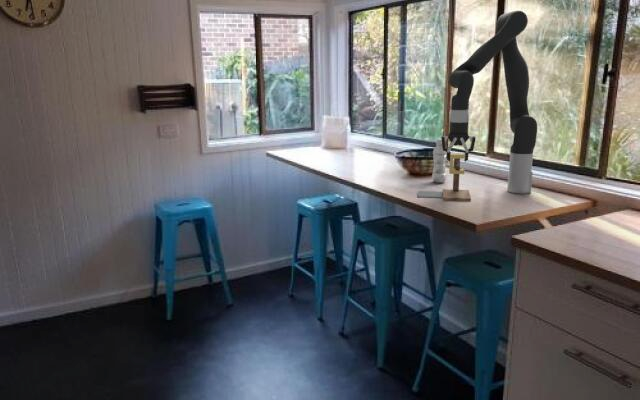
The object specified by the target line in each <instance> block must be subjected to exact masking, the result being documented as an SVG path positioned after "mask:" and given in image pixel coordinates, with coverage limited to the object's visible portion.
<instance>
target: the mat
mask: <svg viewBox="0 0 640 400" xmlns="http://www.w3.org/2000/svg"><path fill="white" fill-rule="evenodd" d="M417 198H424V199H425V198H427V199H429V198H430V199H443V191H436V190H435V191H433V190H431V191H430V190H429V191H427V190H418V191H417Z"/></svg>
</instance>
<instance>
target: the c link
mask: <svg viewBox="0 0 640 400" xmlns="http://www.w3.org/2000/svg"><path fill="white" fill-rule="evenodd" d="M454 159H460V160H462V159H463V160H464V159H465V152H464V153H461V152H460V153H459V152H457V153H455V152H454V153H453V152H450V161H449V165H448V166H449V167H448V168H449V170H448V171H449V175H453V174H459V175H465V171H466V170H465V168H460V170H459V171H457V170H456V169H454Z"/></svg>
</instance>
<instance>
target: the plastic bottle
mask: <svg viewBox="0 0 640 400" xmlns="http://www.w3.org/2000/svg"><path fill="white" fill-rule="evenodd" d="M435 145H436V146H435V147H434V149H433V150H432V156H433V170H432V173H431V174H432V175H431V180H432V182H433V183H437V184H441V183H445V182H446V179H447V174H446V160H447V152H446V151H443V148H442V139H441V140H436V141H435Z"/></svg>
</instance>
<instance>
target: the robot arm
mask: <svg viewBox="0 0 640 400" xmlns="http://www.w3.org/2000/svg"><path fill="white" fill-rule="evenodd" d="M528 23H529V20H528V15H527V14H526V13H525V12H524V11H522V10H513V11H509V12H505V13H503V14H501V15H500V16H499V17H498V19H497V21H496V32H497V33H495V35H493V36H492V37H491V38H489V39H488V40H486V41H485V42H484V43H483V44H482V45H480V46H479V47H478V48H477V49H476V50H475V51H474V52H473V53H472V54H471V56H470V57H468V59H467V60H466V61H464V62H463V63H461V64H460V65H459V66H458V67H456V68H455V69H454V70H453V71H452V72H451V74H450V75H449V77H448V83H449V85H450V87H452V88H453V89H457V90H456V94H454V95H453V96H452V97H451V102H450V113H449V129H448V130H449V131H448V132H449V133H448V135H442V136H441V141H442V148H443V151H446V152H447V154H446V160H447V161H448V162H450V153H451V150H452V149H453V147H454V146H461V147H463V149H464V153H465V159H463V160H464V162H467V161H468V160H469V154H470V152H473V151H474V149H475V145H476V144H475V143H476V136H470V135H469V125H470V124H469V121H470V112H469V108H470V107H469V106H470V97H471V96H472V95H471V94H472V91H473V88H474V84H475V83H474V81H475V80H474V79H475V78H474V75H475V74H479V73H480V72H482V71H483V69H484V68H485V67H486V66H487V65H488V64H489V63H490V62H491V61H492V59H493V58H495V56H497V54H499V52H501V54H502V55H501V56H502V62H503V70H504V71H503V73H504V81H505V86H506V91H507V92H506V94H507V97H508V98H507V99H508V104H509V127H510V131H511V132H512V133H513V142H512V144H511V146H510V147H509V148H510V151H509V164H508V165H509V166H508V175H507V177H508V178H507V192H508V193H512V194H519V195H520V194H521V195H522V194H531V193H532V183H533V173H534V172H533V157H534V149H535V147H536V144H537V143H536V142H537V137H538V123H537V122H538V121H537V120H536V119H535V117H533V116H530V111H529V107H528V106H529V105H528V95H529V89H530V74H529V66H528V63H527V61H526V60H525V58H524V56H523V55H522V53H521V52H520V50H519V46H518V42H517V37H518V36H519V35H521V34H522V33H523V32H524V31H525V30H526V28H527V26H528ZM447 140H449V142H450V144H448V147H446V142H447ZM468 140H469V142H470V146H469V147H468V146H467V144H466V143H467V142H468Z"/></svg>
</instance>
